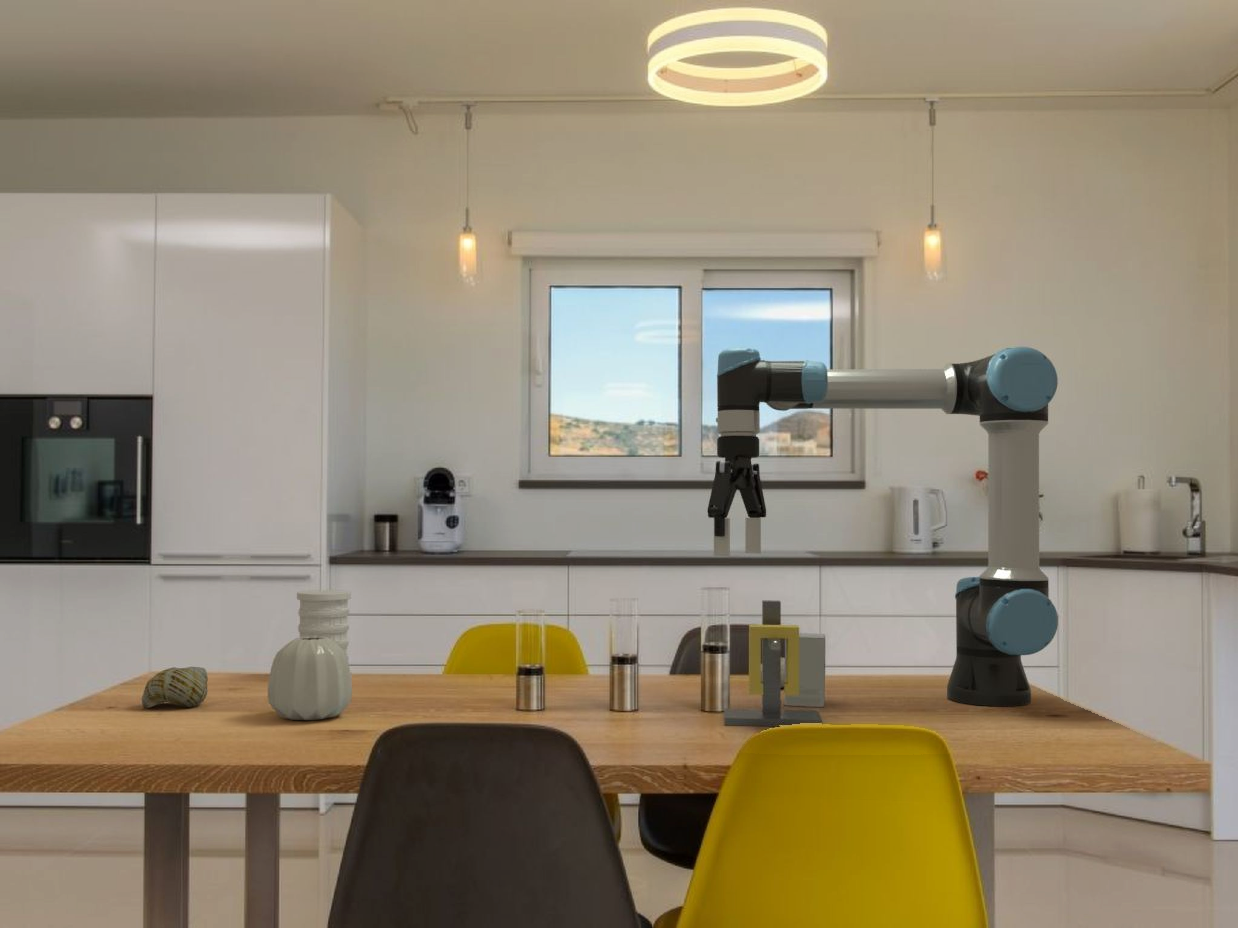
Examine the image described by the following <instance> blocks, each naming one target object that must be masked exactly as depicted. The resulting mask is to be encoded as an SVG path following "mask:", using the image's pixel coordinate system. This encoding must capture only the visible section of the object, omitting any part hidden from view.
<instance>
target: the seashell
mask: <svg viewBox="0 0 1238 928" xmlns="http://www.w3.org/2000/svg"><path fill="white" fill-rule="evenodd" d="M208 680H209V677H208V673H207V670H206V668H204V667H199V666H188V667H182V668H181V667H180V668H179V667H170V668H165V669H164V670H161V671H160V672H158V673H156V674H155V675H154V676H153V677H151V678H150V679H148V681H147V683H146V684H145V686H144V690H143V693H142V696H141V705H142V709H144V710H147V709H150V708H152V707H155V706H157V705H160V704H164V703H169V704H173V705H176V706H180V707H184V708H194V707H197V706H198V705H200V704H202V702H204V701H205V699H206V697H207V695H208Z"/></svg>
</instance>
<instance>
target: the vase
mask: <svg viewBox="0 0 1238 928" xmlns="http://www.w3.org/2000/svg"><path fill="white" fill-rule="evenodd" d="M271 663H272V664H271V667H270V672H269V677H268V684H267V698H268V703H269V705H270V706H271V708H272V709H273V710H274V711H275V713H277V715H278V716H279V717H281V718H283V719H289V720H291V721H292V720H294V721H317V720H324V719H325V720H326V719H330V718H334V717H337V716H338V715H340V714H342V713H343V712H344V711H345V709H347V707H348V706H349V705H350V703H351V702H352V696H353V683H352V682H353V680H352V676H351V673H352V672H351V669H350V663H349V658H348V659H347V656H346V653H345V651H344V650H343V649H342V648H341V647H340V646H339V645H338V644H336V643H335V642H334V641H332V640H330V639H329V638H326V637H317V636H315V637H300V636H299V637H297V638H296V637H295V638H294V639H293V640H291V641H289V642H288V643H287V644H285V645H284V646H283V647H282V648H281V649H279V651H277V652H276V654H275V657H274V658H273V661H272V662H271ZM350 672H351V673H350Z"/></svg>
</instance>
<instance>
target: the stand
mask: <svg viewBox="0 0 1238 928" xmlns="http://www.w3.org/2000/svg"><path fill="white" fill-rule="evenodd" d="M761 603H762V604H761V614H762V615H761V616H762V617H761V625H782V623H781V621H782V615H781V613H782V608H781V607H782V606H781V605H782V602H781V600H768V599H767V600H762V601H761ZM781 639H782V638H761V664H762V681H763V695H761V708H723V709H724V710H723V721H724V722H723V723H724V726H737V727H738V726H739V727H743V726H744V727H777V726H779V725H792V724H800V723H822V724H823V718H822V716H821V715H820V713H819V711H818V710H813V709H781V707H782V706H781V697H782V696H781V695H782V694H781V692H782V691H781V689H782V688H781V658H782V656H781V655H782V653H781V652H782V651H781V650H782V642H781V641H782V640H781Z"/></svg>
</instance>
